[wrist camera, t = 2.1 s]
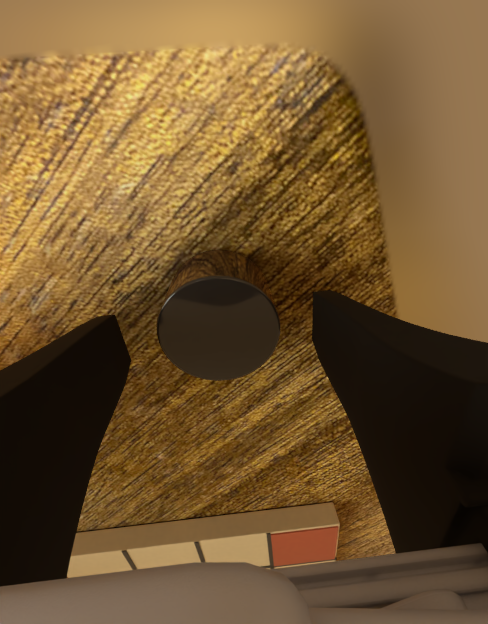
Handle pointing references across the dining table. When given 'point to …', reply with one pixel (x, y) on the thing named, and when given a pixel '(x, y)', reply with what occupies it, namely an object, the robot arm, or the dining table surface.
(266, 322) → the dark grey cylinder
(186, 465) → the dining table surface
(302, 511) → the board
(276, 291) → the dining table surface
